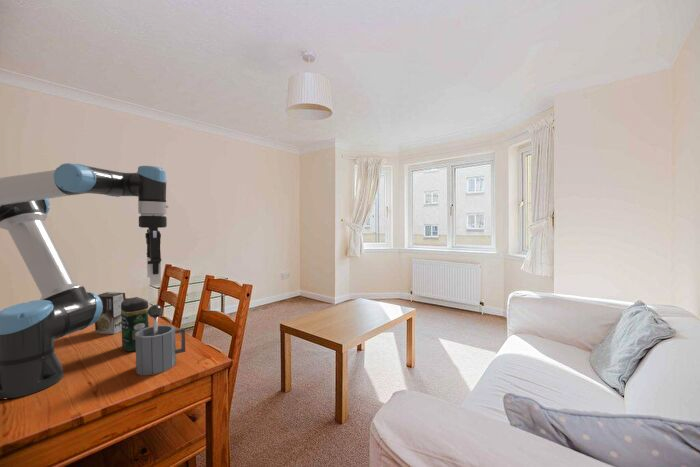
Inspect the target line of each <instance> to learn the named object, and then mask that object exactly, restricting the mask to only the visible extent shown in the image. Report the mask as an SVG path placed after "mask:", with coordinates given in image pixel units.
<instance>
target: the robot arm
mask: <svg viewBox="0 0 700 467" xmlns="http://www.w3.org/2000/svg"><path fill="white" fill-rule="evenodd" d="M166 174H167V173H166V170H165V169H164V168H163V167H159V166H153V165H139V166H138V167H137V171H136V172H122V171H117V170H110V169H103V168H99V167H94V166H90V165H89V166H88V165H85V164H81V163H69V162H68V163H66V162H65V163H62V164H60V165H59V166H58V167H56V168H55V169H51V170H45V171H39V172H31V173H25V174H18V175H11V176H3V177H0V229H2V230H5V231H8V233H9V235H10V236H11V239H12V240H13V242H14V244H15V247H16V249H17V251H18V252H19V254H20V256H21V258H22V260H23V262H24V264H25V266H26V267H27V270H28V272H29V274H30V275H31V277H32V279H33V281H34V283H35V285H36V288H37V289H38V291H39V292H40V294H41V297H40V298H39V299H38V300H30V301H27V302H21V303H17V304H14V305H11V306H7V307H5V308H4V309H1V310H0V399H4V398H12V399H15V398H21V397H25V396H29V395H31V394H34V393H38V392H40V391H43V390H45V389H48V388H50V387H51V386H54V385H55V384H57V383H58V382H60V381H61V380H62V378H63V377H64V367H63V365H62V363H61V362H60V360H59V358H58V356H57V354H56V353H55V340H58V339H61V338H63V337H65V336H68V335H70V334H73V333H75V332H78V331H83V330H84V329H86V328H88V327H91V326H93V325H95V322H97V320H98V319H99V318H100V316H101V313H102V310H103V305H102V301H101V299H100V298H99V296H98V295H99V294H95V293H94V292H90V291H87V290H86V287H85V286H84V285H81V284H79V283H76V281H75V280H74V278H73V276H72V273H71V272H70V270H69V268H68V266H67V265H66V261H65V260H64V258H63V256H62V255H61V253H60V250H59V249H58V247H57V245H56V243H55V241H54V240H53V237H52V236H51V234H50V232H49V229H48V227H47V226H46V224H45V221H46V220H47V218H48V215H47V214H48V213H49V212H50V207H49V206H51V202H50V200H49V199H55V198H62V197H68V196H69V197H70V196H77V195H83V194H94V195H104V196H108V197H116V198H117V197H118V198H119V197H137V198H138V201H137V206H138V207H137V210H138V211H137V213H138V214H140V215H139V216H138V227H139V228H140V229H141V228H142V229H143V228H144V229H145V228H146V229H147V230H146V233H145V239H146V240H145V242H146V257H147V258H146V270H147V271H146V272H147V274H146V275H147V276H146V277H147V278H149V286H155V285H157V286H158V285H161V284H162V283H161V282H162V280H161V279H162V276H161V275H162V272H161V269H162V268H161V265H162V264H161V262H162V256H161V254H162V253H161V243H162V242H161V240H162V238H161V237H162V233H161V232H160V230H159V229H160V228H161V229H162V228H167V224H168V222H167V220H168V219H167V216H165V215H166V214H167V209H169V205H168V204H167V176H166ZM166 204H167V205H166Z"/></svg>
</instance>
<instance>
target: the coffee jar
mask: <svg viewBox="0 0 700 467" xmlns="http://www.w3.org/2000/svg"><path fill="white" fill-rule="evenodd" d="M149 308H150V307H149V301H148V300H146V299H143V298H141V297H138V296H134V297H129V298H125V300H124V301H123V302H122V303H121V323H122V331H121V345H122V348H123V350H125V351H127V352H134V351H135V352H136V340H135V333H136V332H138V331H139V330H141V329H144V328H147V327H150V326H149V324H150V322H149V314H148V309H149Z"/></svg>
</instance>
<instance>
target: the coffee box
mask: <svg viewBox="0 0 700 467" xmlns="http://www.w3.org/2000/svg"><path fill="white" fill-rule="evenodd" d="M97 295H98V296H99V298H100V299H101V301H102V305H103V310H102V313H101V316H100V318H99V319H98V320H97V322H95V323H94V330H95V332H94V333H95V334H105V335H106V334H107V335H109V334H110V335H115V334H118V333H121V332H122V323H121V303H122V302H123V301H124V300H125V299H126V293H125V292H109V291H107V292H103V293H99V294H97Z"/></svg>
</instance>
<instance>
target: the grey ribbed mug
mask: <svg viewBox="0 0 700 467" xmlns="http://www.w3.org/2000/svg"><path fill="white" fill-rule="evenodd" d="M176 334H180V337H181V338H180V339H181V340H180V344H181V346H180V347H181V348H176ZM135 340H136V351H135V365H136V366H135V369H136V374H137V375H141V376H151V375H152V376H153V375H157V374H161V373H164V372H166V371H168V370H170V369H172V368H173V367H174V366H176V363H177V360H176V357H177V354H180V353H184V352H185V353H186V328H185V327H182V328H176V327H175V325H171V324H158V335H155V336H154V330H153V325H151V326H149V327H147V328H144V329H141V330H139V331H138V332H136V333H135Z"/></svg>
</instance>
